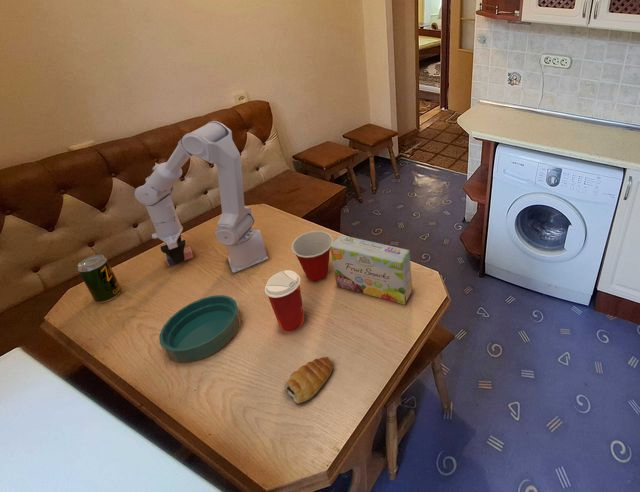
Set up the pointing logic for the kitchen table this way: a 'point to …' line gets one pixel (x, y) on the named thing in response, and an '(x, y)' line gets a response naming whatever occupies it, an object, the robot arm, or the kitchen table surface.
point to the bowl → (200, 328)
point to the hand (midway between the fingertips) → (178, 254)
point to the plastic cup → (313, 253)
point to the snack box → (372, 268)
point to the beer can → (99, 278)
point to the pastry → (309, 379)
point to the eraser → (186, 255)
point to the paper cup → (286, 299)
